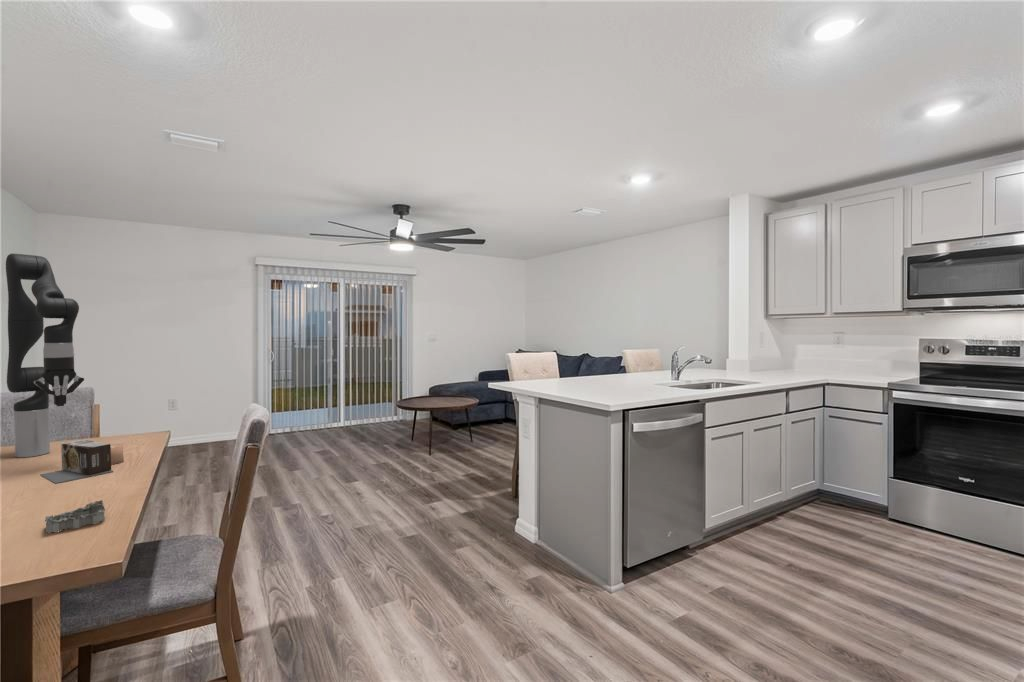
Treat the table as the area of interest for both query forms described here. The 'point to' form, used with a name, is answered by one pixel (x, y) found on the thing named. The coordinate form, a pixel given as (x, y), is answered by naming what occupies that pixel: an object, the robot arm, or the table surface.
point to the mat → (67, 476)
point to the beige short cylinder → (116, 453)
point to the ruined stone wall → (76, 517)
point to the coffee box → (86, 457)
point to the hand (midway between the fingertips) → (60, 405)
